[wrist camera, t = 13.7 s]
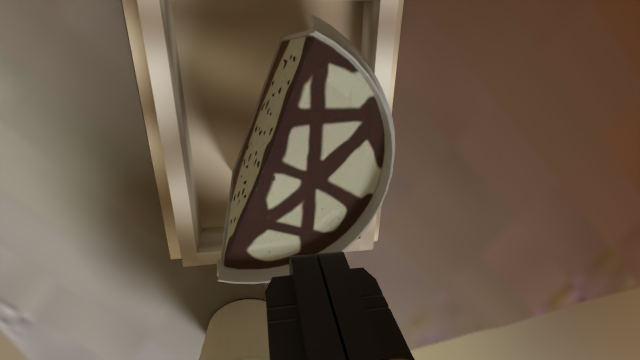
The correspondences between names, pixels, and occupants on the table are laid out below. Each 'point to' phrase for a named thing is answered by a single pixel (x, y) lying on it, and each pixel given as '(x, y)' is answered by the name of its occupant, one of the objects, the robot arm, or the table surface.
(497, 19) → the table surface
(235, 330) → the ice cream cone
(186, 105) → the holder
